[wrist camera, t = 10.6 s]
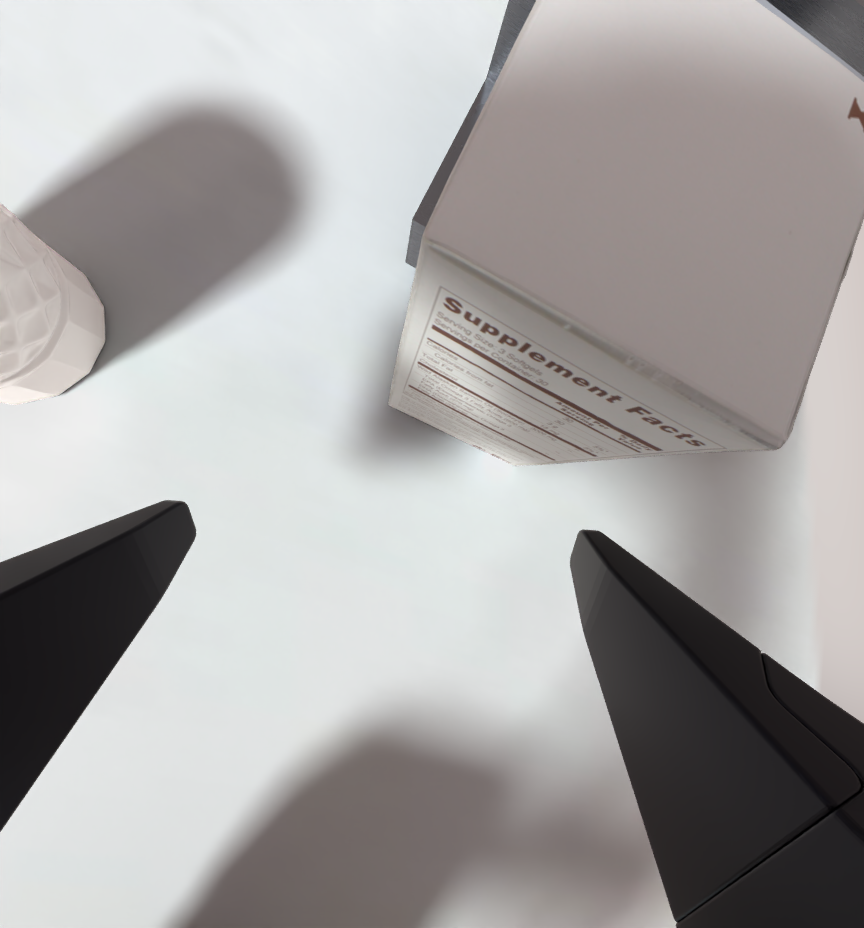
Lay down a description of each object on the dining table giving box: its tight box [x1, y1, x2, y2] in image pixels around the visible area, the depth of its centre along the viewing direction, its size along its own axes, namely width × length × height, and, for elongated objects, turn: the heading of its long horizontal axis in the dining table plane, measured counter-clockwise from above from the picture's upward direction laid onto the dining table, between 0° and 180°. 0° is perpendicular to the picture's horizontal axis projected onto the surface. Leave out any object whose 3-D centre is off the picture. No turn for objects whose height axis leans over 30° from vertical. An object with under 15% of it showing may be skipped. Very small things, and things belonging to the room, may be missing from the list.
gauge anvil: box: [406, 0, 864, 268], centre depth 15 cm, size 12×12×10 cm
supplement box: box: [388, 0, 864, 466], centre depth 12 cm, size 7×7×13 cm
